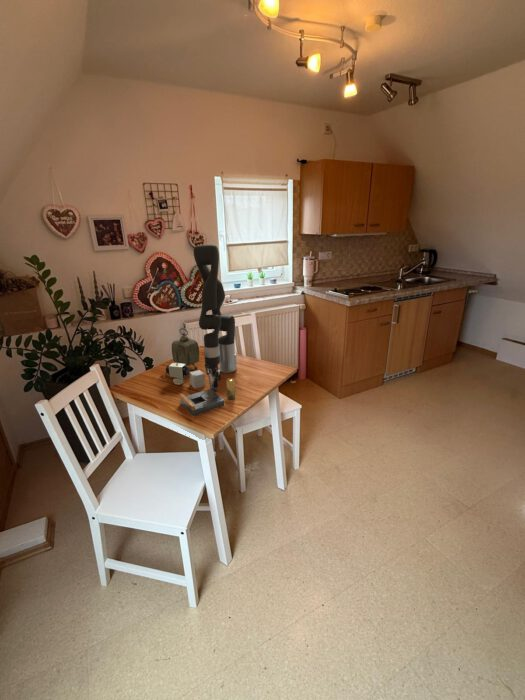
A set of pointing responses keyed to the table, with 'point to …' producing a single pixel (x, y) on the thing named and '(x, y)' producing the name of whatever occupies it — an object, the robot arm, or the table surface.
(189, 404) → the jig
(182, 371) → the pneumatic valve
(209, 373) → the translucent grey cylinder
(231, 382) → the brass bushing
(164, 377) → the table surface
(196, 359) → the olive green lantern
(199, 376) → the skincare box
